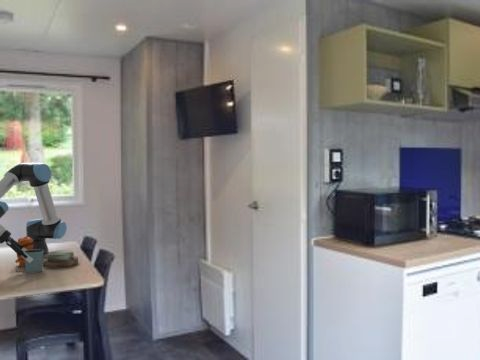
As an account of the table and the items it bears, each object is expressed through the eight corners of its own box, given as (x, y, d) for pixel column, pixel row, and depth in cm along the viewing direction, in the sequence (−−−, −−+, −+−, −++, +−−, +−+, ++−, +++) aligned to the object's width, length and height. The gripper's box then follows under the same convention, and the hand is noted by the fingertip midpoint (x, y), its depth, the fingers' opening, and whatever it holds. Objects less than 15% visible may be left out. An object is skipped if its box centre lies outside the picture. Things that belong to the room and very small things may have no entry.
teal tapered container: (20, 272, 255) (19, 251, 254) (34, 268, 264) (34, 248, 263) (33, 274, 251) (33, 253, 250) (47, 270, 260) (47, 249, 260)
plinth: (54, 259, 286) (54, 249, 285) (84, 261, 283) (84, 250, 283) (36, 267, 266) (35, 255, 266) (67, 268, 263) (67, 257, 263)
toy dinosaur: (27, 267, 266) (26, 237, 265) (11, 266, 268) (10, 236, 267) (39, 263, 277) (38, 234, 276) (23, 262, 279) (23, 233, 278)
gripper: (-4, 235, 258) (25, 259, 266) (-6, 243, 236) (26, 268, 244) (6, 226, 261) (35, 249, 268) (5, 232, 238) (37, 257, 246)
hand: (31, 258), depth 256 cm, fingers open, 13 cm apart
